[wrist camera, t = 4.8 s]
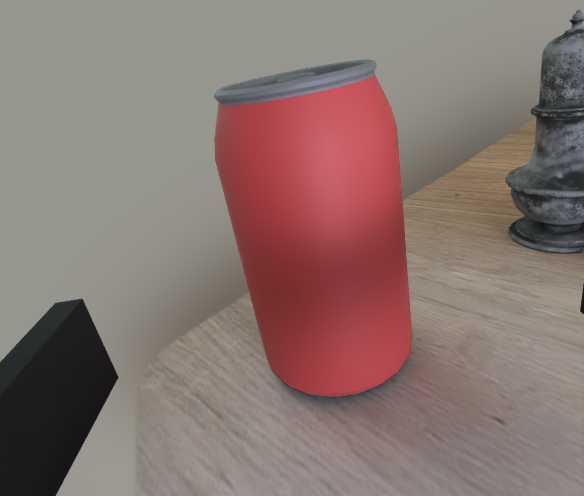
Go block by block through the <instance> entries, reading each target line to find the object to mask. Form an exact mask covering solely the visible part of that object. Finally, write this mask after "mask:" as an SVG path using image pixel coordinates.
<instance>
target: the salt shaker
mask: <svg viewBox="0 0 584 496" xmlns="http://www.w3.org/2000/svg"><path fill="white" fill-rule="evenodd" d="M583 21H584V17H583V13H581V10H577V11H576V14H574V15H573V18H572V19H571V20H570V22H572V27H571V29H570V30H567V31H566V32H565V33H564V34H563V35H561V36H559V37H557V38H555V39H554V40H553V41H551V42H550V43H549V44H548V45H547V46H546V48H545V49H544V51H543V55H542V69H541V82H540V99H539V104H538V105H537V106H535V107H534V108H532V109H531V114H533V115H535V116H536V117H537V120H536V136H535V146H534V150H533V153H532V156H531V159H530V162H529V163H528V164H527V165H525V166H522V167H518V168H516V169H514V170H512V171H511V172H510V173H509V174H508V175H507V176H506V183H507V184H508V186H509V187H511V196H512V199H513V201H514V203H515V205H516V207H517V208H518V210H520V211H521V212H522V213H523V214H524V215H525V217H523V218H521V219H519V220H517V221H515V222H514V223H512V225H511V226H510V227H509V235H510V236H511V238H512V239H513V240H515V241H516V242H517V243H519V244H521V245H524V246H526V247H529V248H533V249H537V250H541V251H548V252H560V253H572V252H584V27H583V24H582V22H583Z"/></svg>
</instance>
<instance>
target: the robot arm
mask: <svg viewBox="0 0 584 496" xmlns="http://www.w3.org/2000/svg"><path fill="white" fill-rule="evenodd" d="M580 311H581V312H582V313H583V314H584V286H583V293H582V301H581V309H580ZM117 379H118V375H117V373H116V371H115V369H114V367H113V364H112V362H111V360H110V358H109V356H108V354H107V351H106V349H105V347H104V345H103V343H102V340H101V338H100V336H99V334H98V332H97V330H96V327H95V325H94V323H93V321H92V319H91V316H90V314H89V312H88V310H87V308H86V306H85V303H84V301H83V299H78V300H71V301H65V302H59V303H55V304H54V305H53V306H52V307H51V308H50V309H49V310H48V312H47V313H46V314H45V315H44V316H43V317H42V318H41V319H40V320H39V321H38V322H37V323H36V325H35V326H34V327H33V328H32V329H31V330H30V331H29V332H28V333H27V334H26V335H25V336H24V337H23V339H21V341H20V342H19V343H18V344H17V345H16V346H15V347H14V348H13V349H12V350H11V351H10V352H9V353H8V354H7V356H6V357H5V358H4V359H3V360H2V361H1V362H0V496H56V494H57V492H58V490H59V488H60V487H61V485H62V483H63V481H64V479H65V477H66V475H67V473H68V471H69V470H70V468H71V466H72V464H73V462H74V460H75V458H76V456H77V454H78V453H79V451H80V449H81V447H82V445H83V443H84V441H85V439H86V437H87V436H88V434H89V432H90V430H91V428H92V426H93V424H94V422H95V421H96V419H97V417H98V415H99V413H100V411H101V409H102V407H103V405H104V404H105V402H106V399H107V398H108V396H109V394H110V392H111V390H112V388H113V386H114V385H115V383H116V381H117Z"/></svg>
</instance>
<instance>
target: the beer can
mask: <svg viewBox="0 0 584 496" xmlns="http://www.w3.org/2000/svg"><path fill="white" fill-rule="evenodd" d="M376 68H377V66H376V63H375V62H374V61H373V60H358V61H349V62H341V63H335V64H329V65H323V66H317V67H311V68H306V69H301V70H295V71H290V72H285V73H280V74H275V75H271V76H266V77H261V78H257V79H253V80H249V81H245V82H241V83H237V84H233V85H229V86H226V87H223V88H220V89H218V90H217V91H216V92H215V94H214V97H215V99H216V100H217V101H218V102H219V106H218V114H217V122H216V130H215V139H214V140H215V161H216V165H217V169H218V172H219V176H220V180H221V184H222V188H223V192H224V196H225V199H226V203H227V207H228V211H229V215H230V219H231V223H232V227H233V230H234V234H235V238H236V241H237V246H238V250H239V253H240V257H241V261H242V265H243V268H244V273H245V276H246V280H247V284H248V288H249V292H250V296H251V300H252V304H253V307H254V311H255V315H256V319H257V323H258V327H259V331H260V334H261V338H262V342H263V346H264V350H265V354H266V357H267V360H268V362H269V365H270V367H271V369H272V371H273V372H274V373H275V374H276V375H277V376H278V377H279V378H280V379H281V380H282V381H283V382H285V383H286V384H287V385H288V386H290V387H292V388H295V389H297V390H300V391H302V392H305V393H307V394H310V395H318V396H327V397H339V396H347V395H355V394H359V393H362V392H364V391H367V390H369V389H372V388H375V387H377V386H379V385H381V384H382V383H384V382H385V381H386V380H388V379H389V378H390V377H391V376H393V375H394V374H395V373H397V372H398V371H399V370H400V368H401V367H402V365H403V364H404V362H405V360H406V359H407V357H408V356H409V354H410V351H411V342H412V329H411V315H410V301H409V287H408V273H407V259H406V246H405V232H404V218H403V204H402V191H401V177H400V163H399V151H398V150H399V149H398V136H397V126H396V123H395V120H394V116H393V113H392V109H391V106H390V105H389V103H388V100H387V98H386V97H385V94H384V92H383V90H382V88H381V86H380V84H379V82H378V80H377V78H376V76H375V74H374V71H375V69H376Z"/></svg>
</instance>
